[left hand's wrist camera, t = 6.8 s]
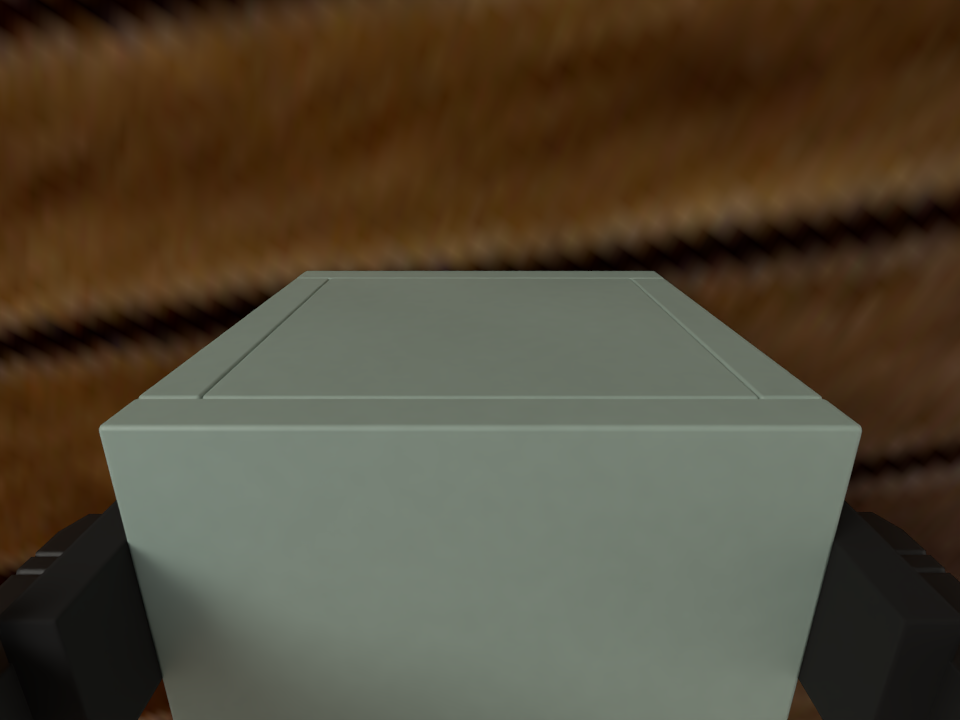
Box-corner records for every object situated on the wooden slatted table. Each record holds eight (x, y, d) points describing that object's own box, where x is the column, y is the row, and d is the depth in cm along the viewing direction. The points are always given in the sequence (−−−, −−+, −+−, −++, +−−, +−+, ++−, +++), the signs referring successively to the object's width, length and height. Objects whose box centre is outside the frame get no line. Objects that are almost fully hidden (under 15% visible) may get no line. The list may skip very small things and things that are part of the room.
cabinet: (609, 694, 23) (697, 1070, 14) (350, 694, 23) (262, 1070, 14) (654, 270, 17) (866, 427, 8) (305, 270, 17) (95, 426, 8)
